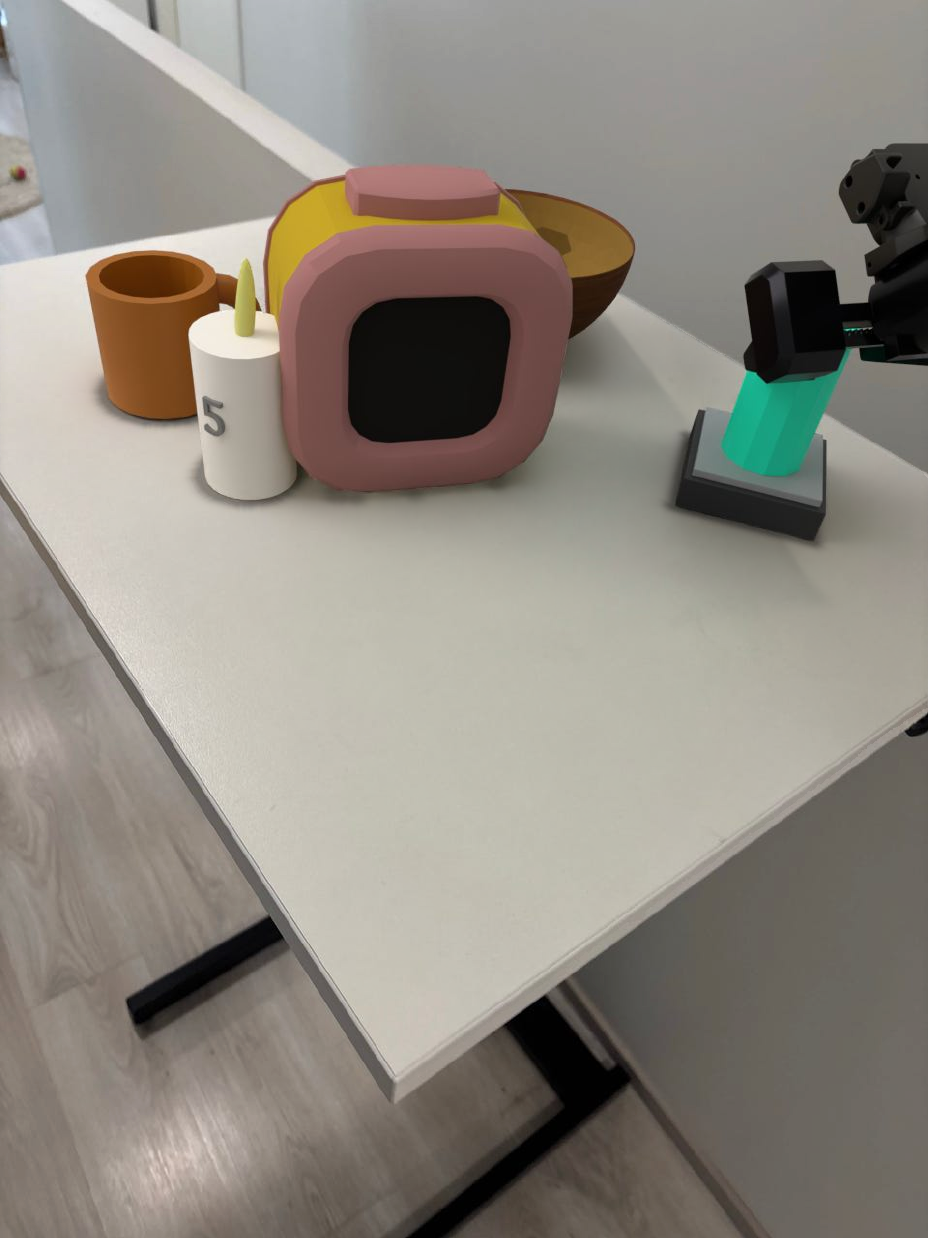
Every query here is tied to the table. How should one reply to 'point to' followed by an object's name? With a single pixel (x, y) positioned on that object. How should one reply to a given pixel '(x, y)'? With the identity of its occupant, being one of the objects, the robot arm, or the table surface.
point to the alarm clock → (414, 327)
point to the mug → (153, 326)
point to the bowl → (582, 250)
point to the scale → (751, 483)
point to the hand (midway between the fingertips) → (805, 357)
